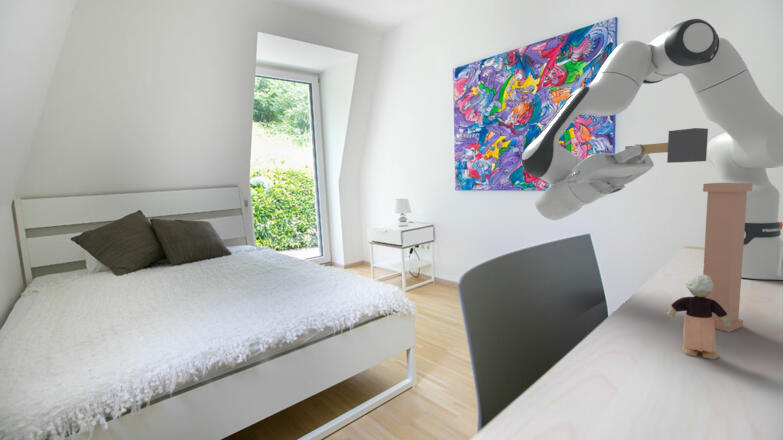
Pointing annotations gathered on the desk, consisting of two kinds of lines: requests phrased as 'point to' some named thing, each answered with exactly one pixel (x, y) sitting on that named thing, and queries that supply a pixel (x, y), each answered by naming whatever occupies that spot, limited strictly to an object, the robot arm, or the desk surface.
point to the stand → (725, 247)
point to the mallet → (682, 145)
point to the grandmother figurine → (699, 317)
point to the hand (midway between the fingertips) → (646, 147)
